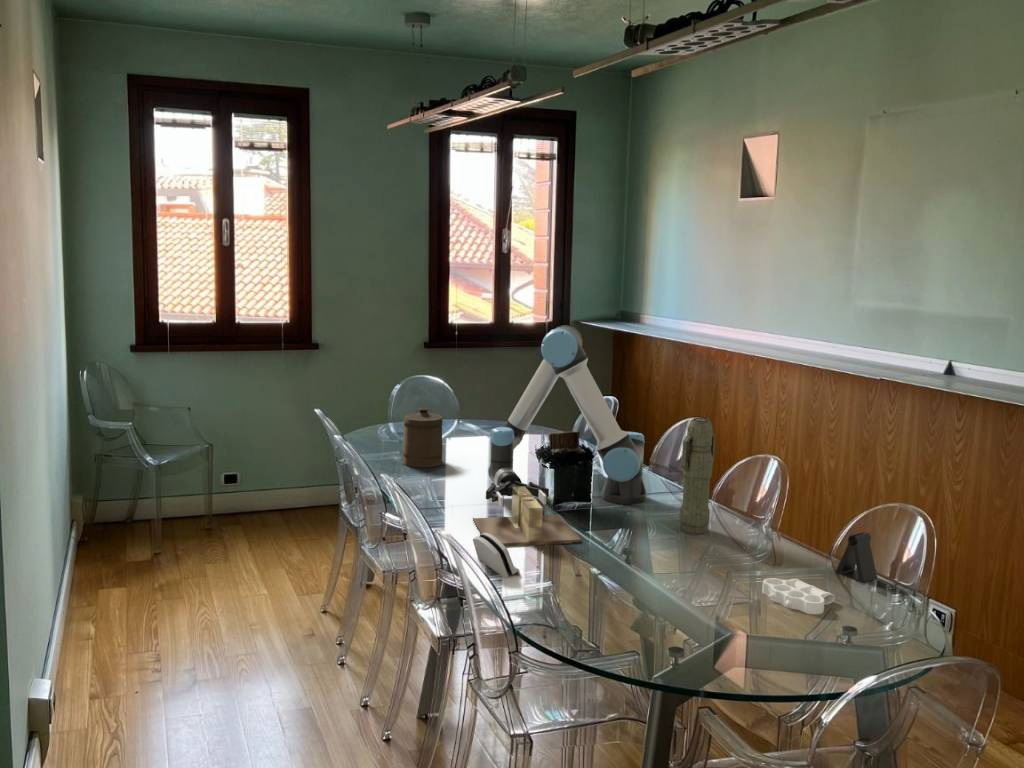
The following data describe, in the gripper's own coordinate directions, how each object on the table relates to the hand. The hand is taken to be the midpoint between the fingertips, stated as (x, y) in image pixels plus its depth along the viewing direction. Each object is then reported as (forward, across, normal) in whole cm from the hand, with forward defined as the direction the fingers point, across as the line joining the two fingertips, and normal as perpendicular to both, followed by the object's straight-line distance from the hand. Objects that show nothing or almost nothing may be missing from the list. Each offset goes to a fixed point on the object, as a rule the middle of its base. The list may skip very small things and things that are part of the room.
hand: (523, 501), depth 295 cm
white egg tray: (+66, -56, -9) cm, 87 cm away
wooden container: (-82, +20, -9) cm, 84 cm away
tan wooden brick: (-2, 0, -7) cm, 8 cm away
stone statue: (+10, -52, -9) cm, 54 cm away
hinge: (+31, +16, -9) cm, 36 cm away
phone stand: (+53, -81, -9) cm, 97 cm away
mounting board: (+4, 0, -8) cm, 9 cm away
